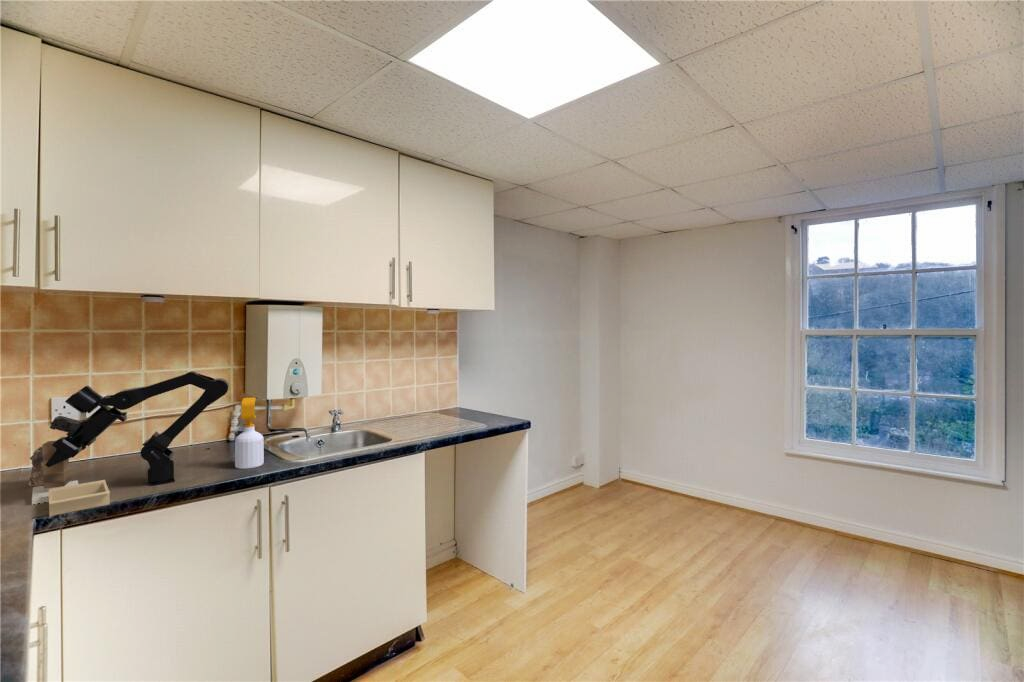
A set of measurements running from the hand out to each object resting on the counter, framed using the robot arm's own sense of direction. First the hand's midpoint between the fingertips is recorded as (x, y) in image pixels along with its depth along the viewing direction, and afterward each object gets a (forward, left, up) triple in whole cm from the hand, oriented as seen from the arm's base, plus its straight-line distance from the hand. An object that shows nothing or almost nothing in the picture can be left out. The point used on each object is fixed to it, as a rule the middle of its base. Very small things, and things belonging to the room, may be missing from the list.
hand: (50, 464), depth 140 cm
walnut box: (-1, 0, -7) cm, 7 cm away
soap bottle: (-52, +7, -10) cm, 53 cm away
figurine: (+1, -17, -10) cm, 19 cm away
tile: (-1, 0, -9) cm, 9 cm away
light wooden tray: (-6, +15, -9) cm, 19 cm away
